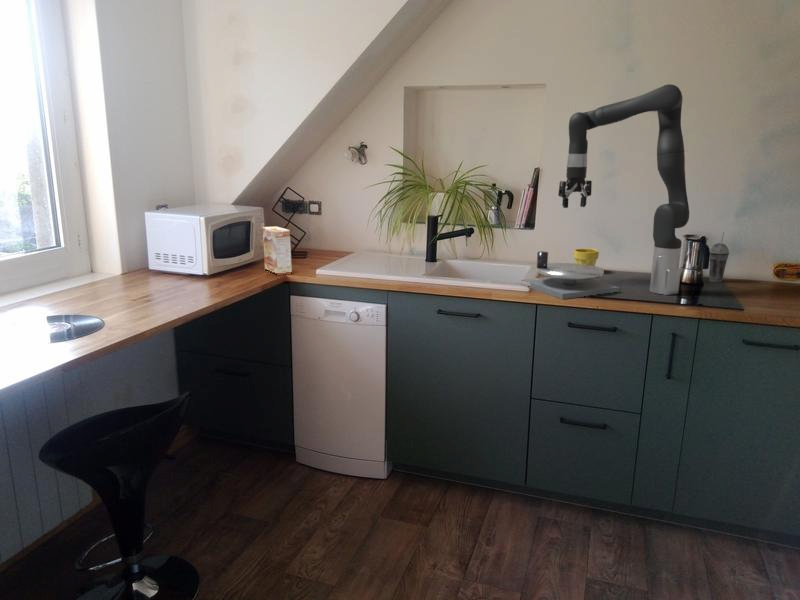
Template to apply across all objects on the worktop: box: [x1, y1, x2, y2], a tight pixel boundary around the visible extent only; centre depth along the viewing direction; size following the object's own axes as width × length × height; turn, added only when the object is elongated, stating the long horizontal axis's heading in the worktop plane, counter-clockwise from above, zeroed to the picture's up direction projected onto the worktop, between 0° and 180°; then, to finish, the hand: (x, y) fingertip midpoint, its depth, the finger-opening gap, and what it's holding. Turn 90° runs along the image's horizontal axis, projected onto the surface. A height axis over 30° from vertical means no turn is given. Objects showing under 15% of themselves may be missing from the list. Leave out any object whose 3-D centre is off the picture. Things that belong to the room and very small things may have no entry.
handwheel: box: [536, 250, 605, 280], centre depth 232 cm, size 25×25×8 cm
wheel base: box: [520, 276, 620, 300], centre depth 234 cm, size 26×26×6 cm
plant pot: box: [573, 248, 600, 266], centre depth 264 cm, size 10×10×10 cm
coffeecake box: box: [262, 225, 293, 273], centre depth 264 cm, size 15×7×20 cm, turn 33°
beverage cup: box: [708, 232, 730, 283], centre depth 245 cm, size 7×7×20 cm
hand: (574, 207), depth 240 cm, fingers open, 8 cm apart
